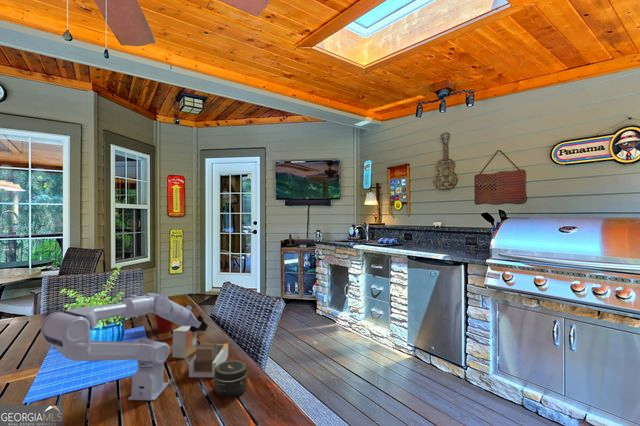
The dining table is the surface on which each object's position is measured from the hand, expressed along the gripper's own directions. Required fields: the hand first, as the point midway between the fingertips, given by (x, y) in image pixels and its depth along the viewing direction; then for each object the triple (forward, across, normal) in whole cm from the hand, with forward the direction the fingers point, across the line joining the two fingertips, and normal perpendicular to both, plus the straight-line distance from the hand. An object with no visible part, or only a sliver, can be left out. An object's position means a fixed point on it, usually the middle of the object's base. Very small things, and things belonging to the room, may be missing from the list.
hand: (198, 324), depth 121 cm
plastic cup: (+24, +38, +10) cm, 46 cm away
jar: (+1, -25, +13) cm, 28 cm away
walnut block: (+5, -9, +11) cm, 15 cm away
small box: (+12, +9, +12) cm, 19 cm away
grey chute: (+9, -7, +11) cm, 16 cm away
